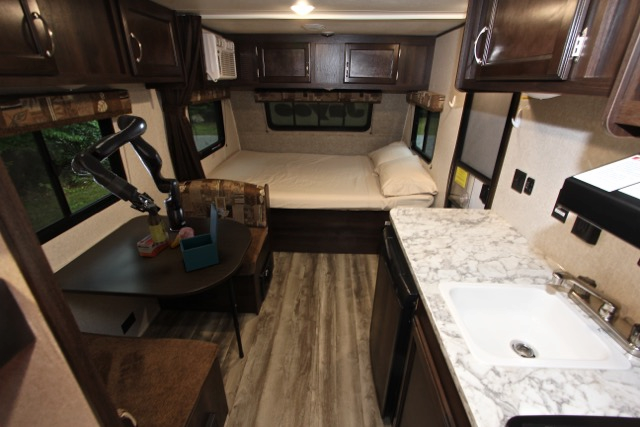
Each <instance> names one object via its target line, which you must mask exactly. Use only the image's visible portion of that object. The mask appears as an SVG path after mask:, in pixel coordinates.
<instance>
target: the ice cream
mask: <svg viewBox="0 0 640 427" xmlns="http://www.w3.org/2000/svg"><path fill="white" fill-rule="evenodd" d="M190 237H195V230H194V229H193V228H192V227H189V226H186V228H182V229H181V230H180V231H178V234H177V235H176V237H175V239H174V241H173V242H171V243H170V248H172V249H174V248H176V247H178V246H179V245H180V242H179V240H181V239H186V238H190Z"/></svg>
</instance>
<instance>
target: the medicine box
mask: <svg viewBox="0 0 640 427" xmlns="http://www.w3.org/2000/svg"><path fill="white" fill-rule="evenodd" d="M166 235H167V242H166V243H165V244H163V245H154V243H153V240H152V237H151V233H150V234H148V235H147V236H145V237H143V238H142V239H141V240H139V241H138V242H137V243H136V246H137V250H138V253H139V255H140V256H141V257H150V258H151V257H152V258H154V257H156V256H157V255H158V254H159V253H160V252H162V251H163V250H164V249H166V248H167V247H168V246H169V245H171V240H170V235H169V233H168V231H166Z"/></svg>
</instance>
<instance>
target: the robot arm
mask: <svg viewBox="0 0 640 427" xmlns="http://www.w3.org/2000/svg"><path fill="white" fill-rule="evenodd" d="M116 126H117V128H118V130H119V131H117V132H114V133H112V134H111V133H110V134H108V135H105V136H103V137H102V138H99V139H98V140H97V141H95V142H94V143H92V145H90V146H89V147H88V149H87V150H86V151H85V152H84V151H80V152H77V153H76V154H75V155H74V156H73V159H72V162H71V164H70V165H71V170H72V172H74V173H75V174H76V175H79V176H85V175H86V176H87V175H89V174H90V175H91V176H92V177H93V181H94V182H95V183H96V184H98V185H100V186H101V187H102V188H104V189H106V190H107V191H108V192H109V193H111V194H113V195H114V196H116V197H117V198H119V199H120V200H122V201H124V203H125V202H126V203H127V202H130V203H131V205H129V207H130V208H131V209H133V210H134V211H138V212H140V213H142V214H144V213H147V214H149V213H150V214H152V215H153V216H156V215H157V214H159V212H161V211H162V207H160V206H159V205H157V211H158V212H156V211H155V210H153V209H152V208H150V207H149V206H148V204H153V203H154V204H155V199H154V198H153V197H152V196H151V195H149V194H148V193H147V192H146V191H143V193H142V192H138V187H136V186H135V185H133V184H132V183H130V182H128V181H127V180H125V179H124V178H123V177H120V176H118V175H117V174H116V173H114V172H113V171H111V170H109V169H108V168H107V167H106V166H105V165H104V164H103V163H102V162H103V161H104V160H106V159H107V158H108V157H110V156H111V155H112V154H113V153H115V152H116V151H117V150H119V149H120V148H122V147H123V146H125V145H127V144H128V143H129V144H130V145H131V147H132V149H133V150H134V151H135V153H136V155H137V156H138V157H139V160H140V162H142V164H143V166H144V167H145V169H146V170H147V172H148V174H149V175H150V178H152V181H153V183H154V185H155V187H156V189H157V191H158V192H159V193H161V194H168V195H170V197H169V196H168V197H167V198H165V199H164V200H163V205H164V207H165V208H164V209H165V213H166V216H167V217H166V218H167V221H168V226H169V230H170V231H171V232H175V233H176V232H179V231H180V230H181V229H182V228H186V227H187V224H186V219H185V214H184V210H183V205H182V204H183V203H182V195H181V188H180V182H179V181H178V179H177V178H171V177H164V176H163V174H162V172H161V171H162V168H163V158H162V157H161V155H160V154H159V152H158V150H157V149H156V148H155V147H154V146H153V145H151V144H150V143H149V142H147V141H146V140H145V139H144V138H143V137H142V136H143V135H144V134H146V132H147V129H148V124H147V121H146V120H145V119H144V118H143V117H141V116H139V115H131V114H120V115H118V117H117V119H116Z"/></svg>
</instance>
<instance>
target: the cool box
mask: <svg viewBox="0 0 640 427" xmlns="http://www.w3.org/2000/svg"><path fill="white" fill-rule="evenodd" d="M179 242H180V244H179V245H180V250H181V254H182V259H183V263H184V266H185V267H184V268H185V270H186V272H187V273H188V272H192V271H195V270H200V269H202V268H206V267H210V266H213V265H217V264H220V259H219V253H218V247H217V243H215V241H214V239H213V237H212V235H211V233H210V232H208V233H204V234H199V235H194V237H190V238H186V239H181V240H179Z"/></svg>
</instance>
